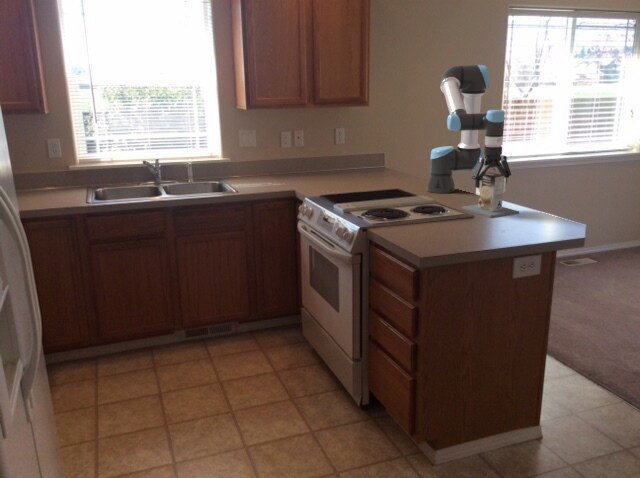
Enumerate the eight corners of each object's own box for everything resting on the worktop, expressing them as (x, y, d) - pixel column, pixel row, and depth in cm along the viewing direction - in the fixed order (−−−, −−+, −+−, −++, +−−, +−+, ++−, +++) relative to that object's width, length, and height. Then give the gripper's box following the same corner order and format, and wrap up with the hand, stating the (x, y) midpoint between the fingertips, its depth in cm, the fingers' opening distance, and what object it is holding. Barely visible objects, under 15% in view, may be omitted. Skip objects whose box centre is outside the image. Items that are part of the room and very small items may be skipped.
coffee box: (477, 208, 258) (479, 173, 253) (487, 206, 261) (489, 171, 256) (492, 211, 250) (494, 176, 246) (502, 209, 253) (505, 174, 249)
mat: (461, 208, 261) (461, 206, 261) (488, 204, 268) (488, 202, 267) (490, 217, 244) (490, 215, 244) (518, 213, 250) (519, 211, 250)
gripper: (476, 149, 239) (473, 197, 246) (521, 144, 249) (517, 191, 255) (465, 147, 246) (462, 194, 252) (509, 142, 256) (506, 188, 262)
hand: (490, 193), depth 254 cm, fingers open, 13 cm apart
